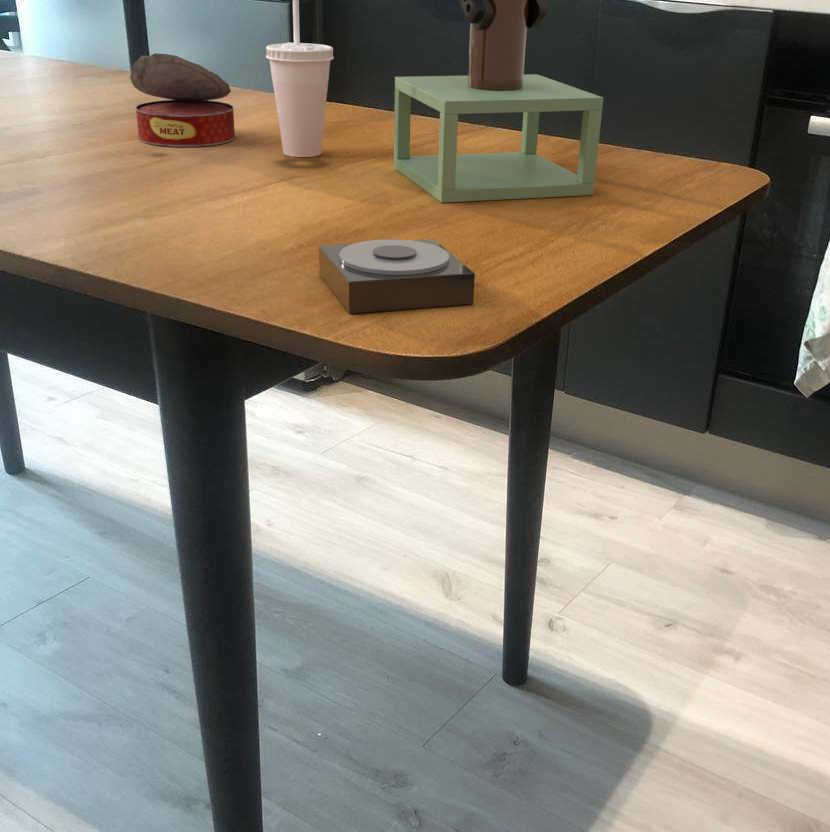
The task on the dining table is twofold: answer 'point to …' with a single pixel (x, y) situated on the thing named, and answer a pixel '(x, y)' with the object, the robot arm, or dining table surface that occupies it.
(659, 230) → the dining table surface
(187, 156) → the dining table surface
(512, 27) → the spice bottle
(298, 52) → the smoothie
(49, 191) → the dining table surface
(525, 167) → the stand
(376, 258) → the stove
